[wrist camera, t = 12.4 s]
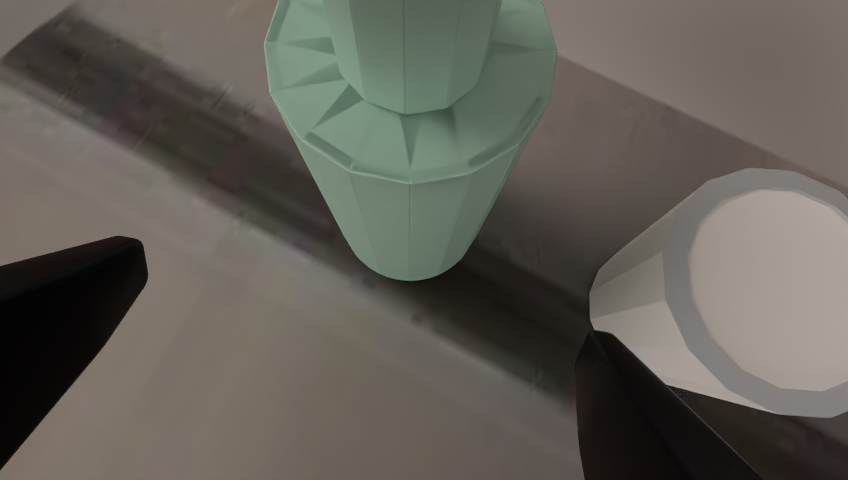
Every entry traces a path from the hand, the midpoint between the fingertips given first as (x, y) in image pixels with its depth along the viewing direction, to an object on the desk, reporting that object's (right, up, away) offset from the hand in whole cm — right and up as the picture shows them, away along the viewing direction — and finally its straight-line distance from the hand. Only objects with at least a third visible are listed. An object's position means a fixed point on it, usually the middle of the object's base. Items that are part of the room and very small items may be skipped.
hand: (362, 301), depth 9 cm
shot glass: (+11, -2, +10) cm, 15 cm away
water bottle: (+1, +2, +11) cm, 11 cm away
